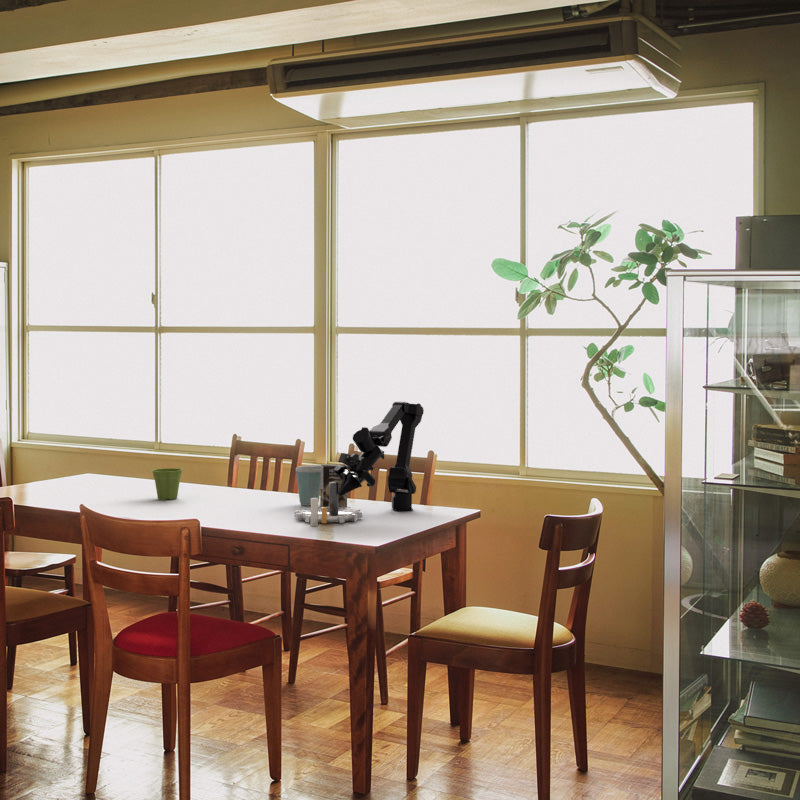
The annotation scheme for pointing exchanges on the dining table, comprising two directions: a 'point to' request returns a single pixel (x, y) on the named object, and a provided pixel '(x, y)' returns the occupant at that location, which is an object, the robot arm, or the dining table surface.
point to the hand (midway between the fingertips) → (339, 495)
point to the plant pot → (167, 482)
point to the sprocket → (331, 510)
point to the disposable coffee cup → (308, 483)
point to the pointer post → (314, 511)
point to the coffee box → (327, 477)
